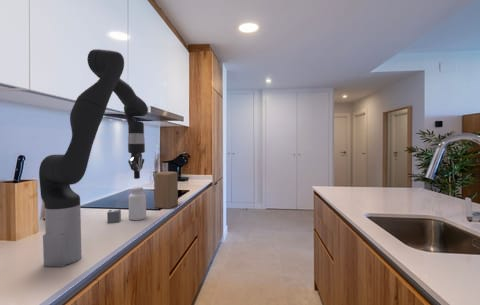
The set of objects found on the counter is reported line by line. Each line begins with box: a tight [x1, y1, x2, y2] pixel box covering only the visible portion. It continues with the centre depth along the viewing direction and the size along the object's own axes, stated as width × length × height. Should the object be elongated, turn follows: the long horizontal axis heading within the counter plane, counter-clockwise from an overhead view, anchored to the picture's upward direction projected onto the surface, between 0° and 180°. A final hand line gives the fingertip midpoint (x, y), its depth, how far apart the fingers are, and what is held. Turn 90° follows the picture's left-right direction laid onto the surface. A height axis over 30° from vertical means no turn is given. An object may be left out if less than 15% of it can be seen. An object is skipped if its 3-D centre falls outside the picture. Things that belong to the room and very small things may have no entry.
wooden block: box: [153, 171, 179, 210], centre depth 151 cm, size 10×10×20 cm
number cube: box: [106, 208, 122, 224], centre depth 123 cm, size 5×5×5 cm
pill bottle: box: [128, 186, 147, 221], centre depth 128 cm, size 8×8×15 cm
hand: (137, 178), depth 127 cm, fingers closed
